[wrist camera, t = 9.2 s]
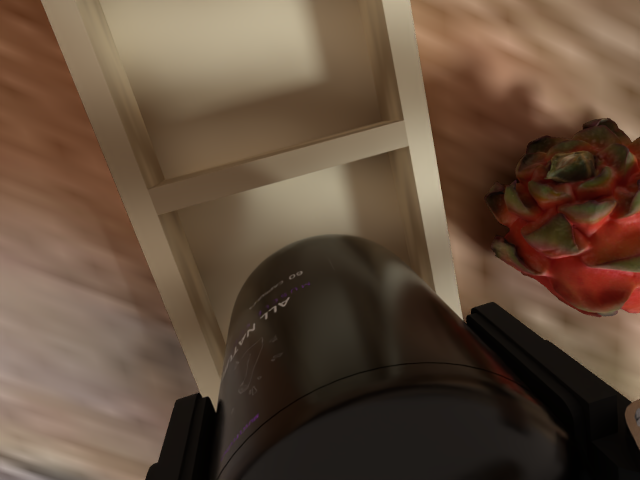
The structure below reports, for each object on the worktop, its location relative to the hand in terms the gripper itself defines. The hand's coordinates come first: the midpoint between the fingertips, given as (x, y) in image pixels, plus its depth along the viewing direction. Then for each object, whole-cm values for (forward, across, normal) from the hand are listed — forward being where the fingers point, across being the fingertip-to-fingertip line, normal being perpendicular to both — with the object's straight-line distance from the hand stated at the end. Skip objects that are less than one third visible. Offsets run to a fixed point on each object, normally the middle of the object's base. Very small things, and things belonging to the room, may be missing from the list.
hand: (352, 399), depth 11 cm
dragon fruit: (+11, -14, +1) cm, 18 cm away
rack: (+11, 0, 0) cm, 11 cm away
